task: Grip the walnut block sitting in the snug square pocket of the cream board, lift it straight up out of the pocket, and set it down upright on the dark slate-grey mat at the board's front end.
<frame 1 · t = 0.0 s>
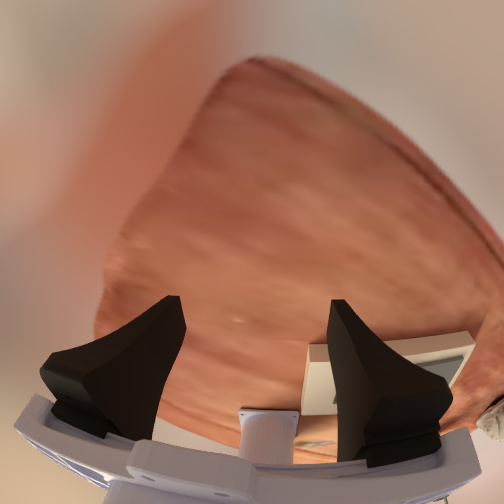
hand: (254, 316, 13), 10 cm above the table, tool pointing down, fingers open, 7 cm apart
pocket board: (387, 370, 27), on the table
seashell: (500, 400, 31), on the table
slate mat: (428, 380, 24), resting on pocket board
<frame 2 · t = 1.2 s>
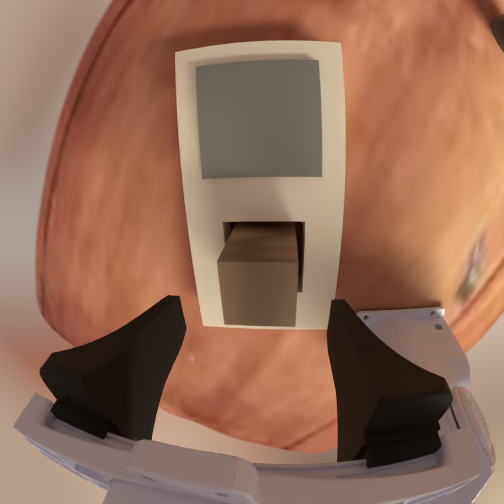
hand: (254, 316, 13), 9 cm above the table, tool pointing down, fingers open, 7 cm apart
walnut block: (266, 243, 21), resting in pocket board
pocket board: (265, 191, 19), on the table
slate mat: (259, 117, 14), resting on pocket board
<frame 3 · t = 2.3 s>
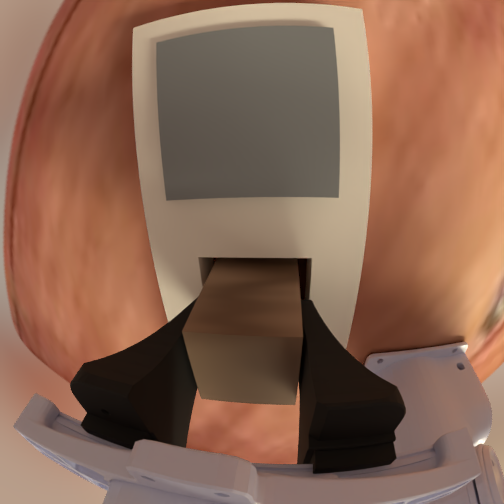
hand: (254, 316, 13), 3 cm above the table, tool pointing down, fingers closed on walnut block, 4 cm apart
walnut block: (260, 279, 16), resting in pocket board, touching gripper
pocket board: (257, 211, 14), on the table
slate mat: (247, 109, 10), resting on pocket board
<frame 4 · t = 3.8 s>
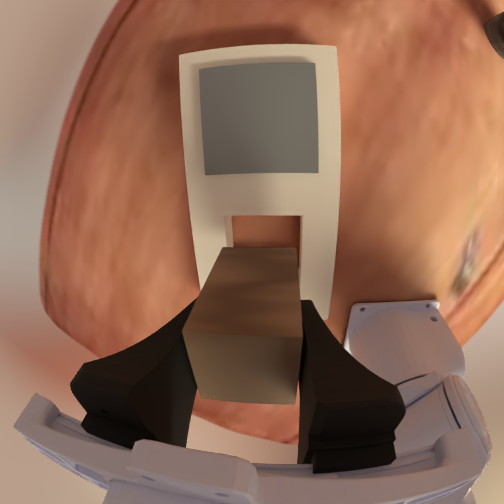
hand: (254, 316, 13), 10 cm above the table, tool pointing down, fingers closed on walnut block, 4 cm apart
walnut block: (260, 279, 16), point 6 cm above the table, touching gripper
beverage cup: (499, 40, 10), on the table
pocket board: (264, 187, 20), on the table
slate mat: (259, 117, 15), resting on pocket board
when the fingers open (7 cm above the table, at t = 5.6 s): walnut block stays where it is, resting on slate mat.
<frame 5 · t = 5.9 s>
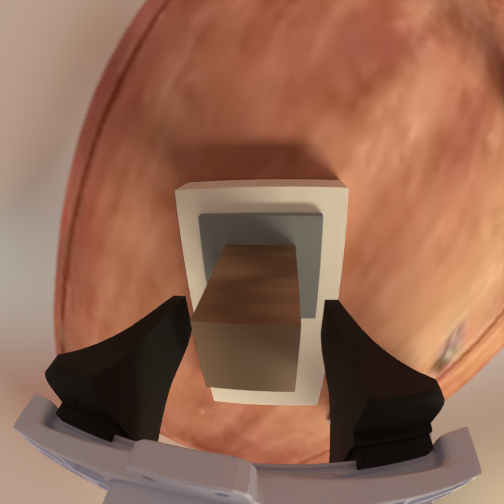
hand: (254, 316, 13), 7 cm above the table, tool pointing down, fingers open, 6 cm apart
walnut block: (261, 275, 17), point 3 cm above the table, touching slate mat
pocket board: (266, 308, 21), on the table
slate mat: (262, 267, 17), resting on pocket board
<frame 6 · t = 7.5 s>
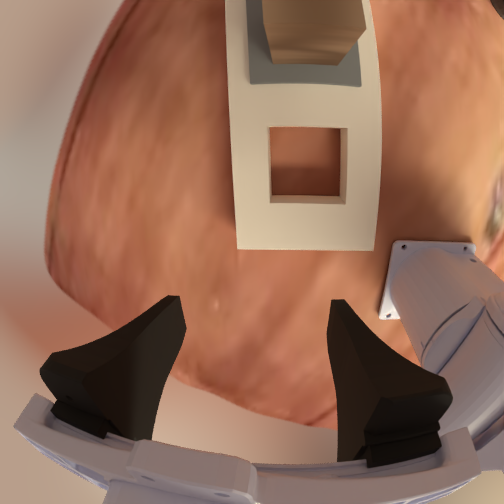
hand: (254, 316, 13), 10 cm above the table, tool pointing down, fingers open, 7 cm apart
walnut block: (303, 37, 13), point 3 cm above the table, touching slate mat
beverage cup: (503, 8, 8), on the table
pocket board: (304, 108, 18), on the table
slate mat: (302, 37, 13), resting on pocket board
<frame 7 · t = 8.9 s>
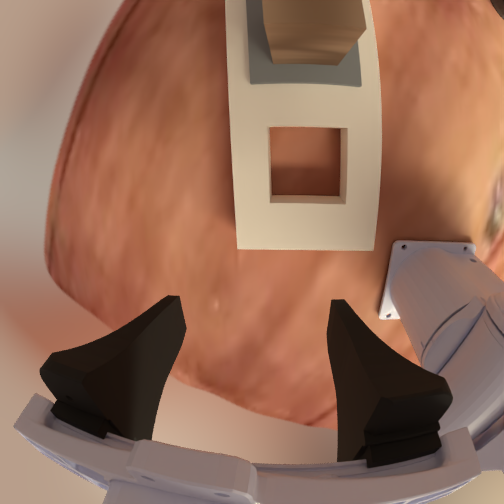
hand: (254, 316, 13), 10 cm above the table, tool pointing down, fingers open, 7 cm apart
walnut block: (303, 37, 13), point 3 cm above the table, touching slate mat
beverage cup: (503, 8, 8), on the table
pocket board: (304, 108, 18), on the table
slate mat: (303, 37, 13), resting on pocket board
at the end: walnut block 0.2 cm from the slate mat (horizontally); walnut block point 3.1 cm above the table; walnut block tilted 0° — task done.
